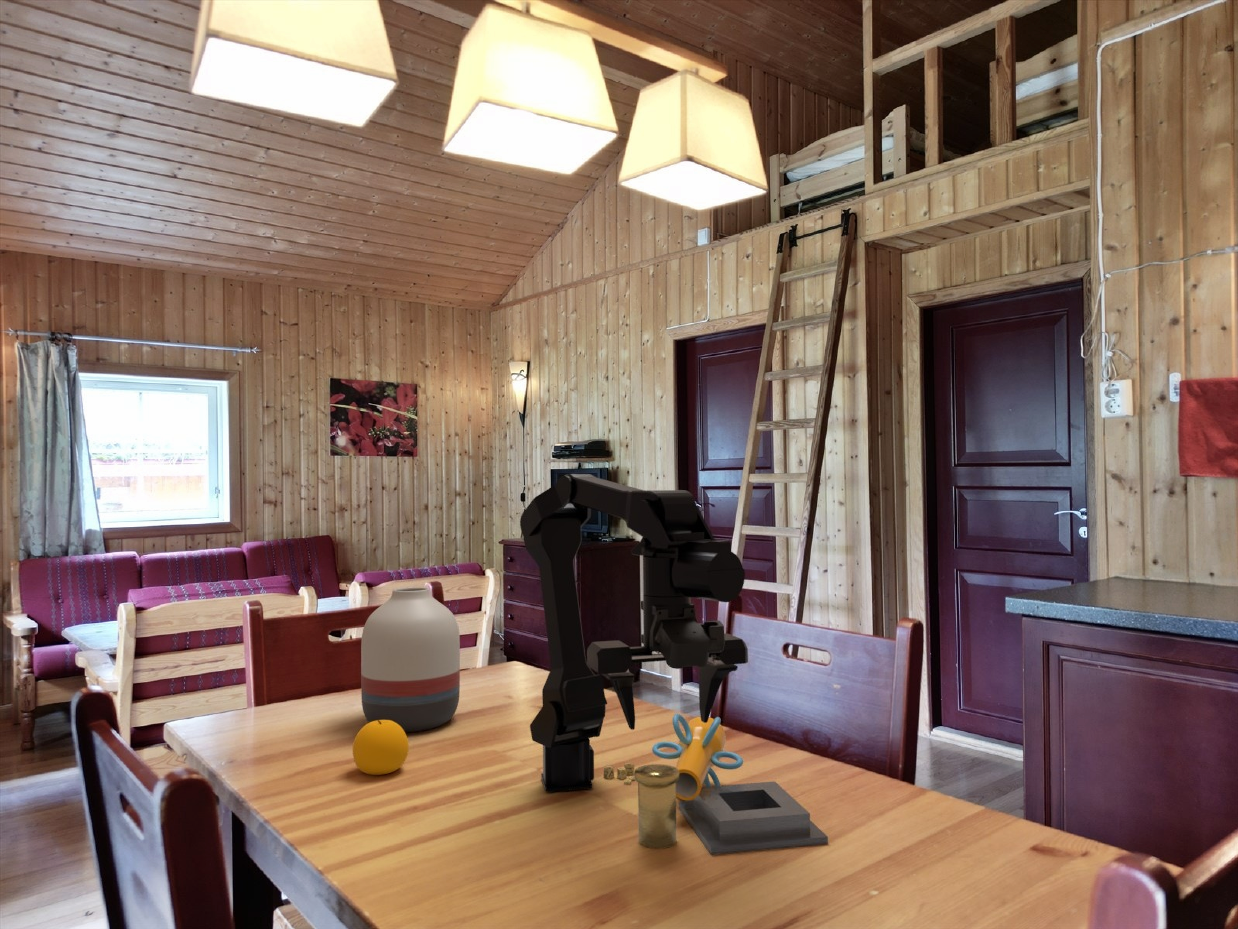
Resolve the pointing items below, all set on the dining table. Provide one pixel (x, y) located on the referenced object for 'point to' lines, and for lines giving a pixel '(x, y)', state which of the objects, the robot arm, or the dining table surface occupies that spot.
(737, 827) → the plate
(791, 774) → the dining table surface
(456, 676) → the vase
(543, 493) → the robot arm
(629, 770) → the mottled tan cylinder cluster
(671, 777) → the bushing
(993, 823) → the dining table surface
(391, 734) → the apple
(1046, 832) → the dining table surface
